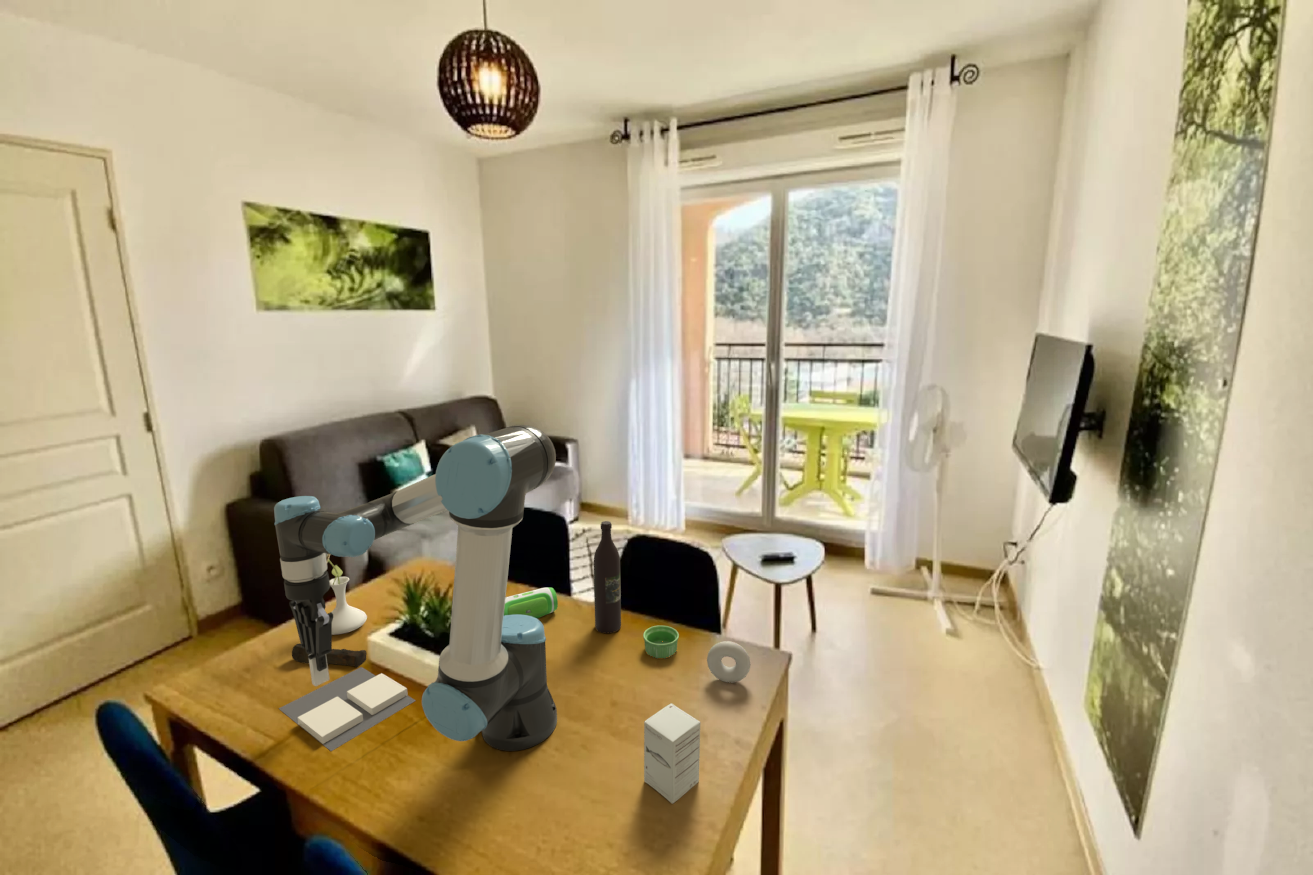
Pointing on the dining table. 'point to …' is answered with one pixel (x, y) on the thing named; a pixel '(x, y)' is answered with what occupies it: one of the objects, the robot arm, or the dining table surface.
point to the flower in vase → (343, 605)
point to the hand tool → (332, 656)
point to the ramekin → (660, 641)
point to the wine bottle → (607, 583)
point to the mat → (340, 690)
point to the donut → (734, 652)
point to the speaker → (532, 603)
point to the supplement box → (671, 752)
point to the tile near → (330, 719)
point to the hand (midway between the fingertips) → (320, 681)
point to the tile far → (377, 693)
